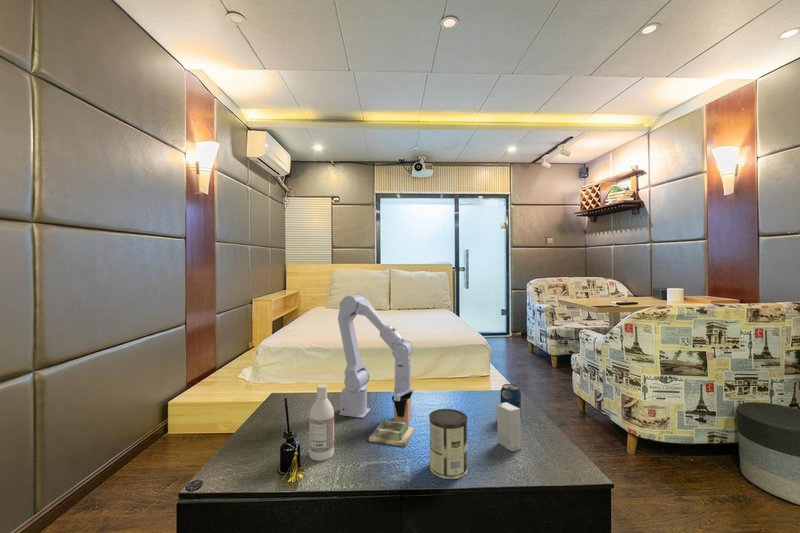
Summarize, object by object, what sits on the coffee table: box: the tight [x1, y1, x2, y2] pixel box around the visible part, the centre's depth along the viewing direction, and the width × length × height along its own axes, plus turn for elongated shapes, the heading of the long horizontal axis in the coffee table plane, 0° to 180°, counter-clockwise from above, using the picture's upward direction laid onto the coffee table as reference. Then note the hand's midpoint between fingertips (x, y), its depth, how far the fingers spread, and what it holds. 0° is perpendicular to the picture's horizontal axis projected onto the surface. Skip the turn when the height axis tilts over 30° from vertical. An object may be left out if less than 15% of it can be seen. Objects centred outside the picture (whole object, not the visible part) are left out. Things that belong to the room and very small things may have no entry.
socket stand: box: [368, 419, 416, 447], centre depth 111 cm, size 12×11×3 cm
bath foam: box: [308, 384, 335, 462], centre depth 100 cm, size 7×7×20 cm
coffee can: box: [428, 408, 468, 480], centre depth 93 cm, size 10×10×14 cm
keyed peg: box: [393, 398, 412, 424], centre depth 123 cm, size 5×4×7 cm
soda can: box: [500, 383, 522, 420], centre depth 123 cm, size 7×7×12 cm
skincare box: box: [496, 402, 522, 452], centre depth 105 cm, size 6×4×12 cm
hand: (402, 414), depth 123 cm, fingers closed on keyed peg, 4 cm apart
